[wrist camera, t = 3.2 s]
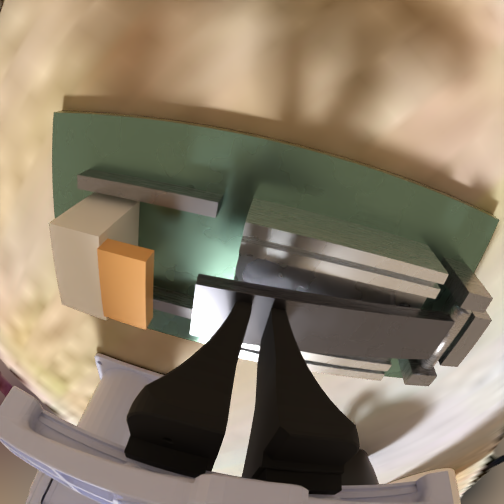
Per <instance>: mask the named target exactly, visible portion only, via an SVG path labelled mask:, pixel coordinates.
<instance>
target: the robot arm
mask: <svg viewBox="0 0 504 504" xmlns="http://www.w3.org/2000/svg"><path fill="white" fill-rule="evenodd" d="M251 310H252V303H247V302H241V301H237V302H235V305H234V307H233V309H232V310H231V312H230V314H229V315H228V317H227V318H226V320H225V321H224V322H223V324H222V325H221V326H220V328H219V329H218V330H217V331H216V333H215V334H214V335H213V336H212V337H211V338H210V339H209V340H208V341H207V342H206V343H205V344H204V345H203V346H202V347H201V348H200V349H199V350H198V351H197V352H196V353H195V354H194V355H192V356H191V357H190V358H189V359H187V360H186V361H185V362H184V363H182V364H181V365H180V366H178V367H176V368H175V369H173V370H172V371H170V372H169V373H167V374H166V375H162V374H159V373H155V372H152V371H149V370H146V369H143V368H140V367H137V366H134V365H131V364H128V363H125V362H122V361H119V360H116V359H114V358H111V357H108V356H105V355H103V354H100V353H97V354H96V355H95V361H96V365H97V369H98V372H99V376H100V382H99V384H98V386H97V388H96V390H95V392H94V393H93V395H92V397H91V399H90V401H89V403H88V405H87V407H86V409H85V411H84V413H83V415H82V417H81V419H80V421H79V423H78V425H77V426H75V425H73V424H71V423H69V422H67V421H65V420H63V419H61V418H59V417H57V416H55V415H53V414H51V413H49V412H47V411H45V410H44V409H43V408H42V406H41V404H40V402H39V401H38V400H37V399H36V398H34V397H33V396H31V395H30V394H28V393H26V392H24V391H23V390H21V389H20V388H18V387H16V386H13V387H12V389H11V390H10V392H9V393H8V395H7V397H6V398H5V400H4V401H3V403H2V404H1V406H0V441H1V442H2V443H3V444H4V445H5V446H6V447H7V448H8V449H9V450H10V451H11V452H12V453H13V454H15V455H16V456H18V457H19V458H21V459H22V460H24V461H25V462H27V463H28V464H30V465H31V466H33V467H35V468H36V469H38V472H37V474H36V476H35V478H34V480H33V483H32V485H31V487H30V490H29V496H28V498H27V500H26V503H25V504H454V502H453V496H452V490H451V485H450V479H449V474H448V471H441V472H435V473H429V474H426V475H424V476H422V477H420V478H419V479H418V480H417V481H411V482H402V483H391V484H377V485H350V486H342V478H341V474H343V473H344V464H345V463H346V462H348V461H349V460H350V459H351V458H353V457H354V456H355V455H356V454H357V452H358V451H359V438H358V433H357V429H356V425H355V424H354V423H353V422H351V421H350V420H349V419H348V418H347V417H346V416H345V415H344V414H343V413H342V412H341V411H340V410H339V409H338V408H337V407H336V406H335V405H334V403H333V402H332V401H331V400H330V399H329V397H328V396H327V395H326V394H325V392H324V391H323V390H322V388H321V387H320V385H319V384H318V382H317V381H316V379H315V378H314V376H313V375H312V373H311V371H310V369H309V368H308V366H307V364H306V362H305V360H304V358H303V356H302V354H301V352H300V349H299V347H298V345H297V342H296V340H295V337H294V335H293V332H292V329H291V326H290V323H289V319H288V316H287V312H286V311H285V310H281V309H277V308H271V311H270V314H269V317H268V320H267V323H266V326H265V329H264V332H263V335H262V338H261V343H260V349H259V355H258V366H257V385H256V402H255V411H254V417H253V422H252V428H251V434H250V439H249V444H248V449H247V455H246V460H245V464H244V469H243V473H242V477H237V476H232V475H226V474H221V473H216V472H211V471H212V468H213V465H214V462H215V460H216V458H217V455H218V452H219V450H220V447H221V444H222V441H223V438H224V435H225V431H226V426H227V421H228V415H229V408H230V401H231V394H232V388H233V382H234V376H235V370H236V364H237V361H238V358H239V355H240V351H241V348H242V344H243V340H244V337H245V333H246V330H247V326H248V322H249V319H250V315H251Z"/></svg>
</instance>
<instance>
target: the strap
mask: <svg viewBox="0 0 504 504" xmlns="http://www.w3.org/2000/svg"><path fill="white" fill-rule="evenodd" d="M237 301H241V302H247V303H252V310H251V315H250V319H249V322H248V326H247V330H246V333H245V337H244V340H243V344H248V345H255V346H260V343H261V338H262V335H263V332H264V329H265V326H266V323H267V320H268V317H269V314H270V311H271V308H277V309H281V310H285V311H286V312H287V316H288V319H289V323H290V326H291V329H292V332H293V335H294V337H295V340H296V342H297V345H298V347H299V349H300V351H302V352H312V353H322V354H332V355H344V356H358V357H374V358H394V359H418V362H419V364H420V365H421V366H422V367H423V368H425V369H432V368H433V366H434V365H435V364H436V363H437V361H438V360H439V359H440V358H441V356H442V355H443V354H444V352H445V351H446V350H447V348H448V347H449V345H450V344H451V343H452V341H453V340H454V339H455V337H456V336H457V334H458V333H459V331H460V330H461V329H462V327H463V326H464V324H465V323H466V321H467V320H468V318H469V317H470V315H471V313H472V312H471V310H467V309H462V308H460V307H459V305H458V304H457V302H455V304H454V306H453V307H452V309H451V310H450V312H441V311H433V310H425V309H418V308H410V307H403V306H395V305H388V304H381V303H374V302H367V301H360V300H354V299H347V298H340V297H334V296H327V295H321V294H315V293H308V292H302V291H296V290H290V289H284V288H278V287H272V286H266V285H260V284H255V283H249V282H243V281H238V280H232V279H226V278H221V277H215V276H210V275H205V274H198V277H197V281H196V285H195V293H194V302H193V310H192V319H191V328H190V335H195V336H200V337H206V338H211V337H212V336H213V335H214V334H215V333H216V331H217V330H218V329H219V328H220V326H221V325H222V324H223V322H224V321H225V320H226V318H227V317H228V315H229V314H230V312H231V310H232V309H233V307H234V305H235V302H237Z"/></svg>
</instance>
